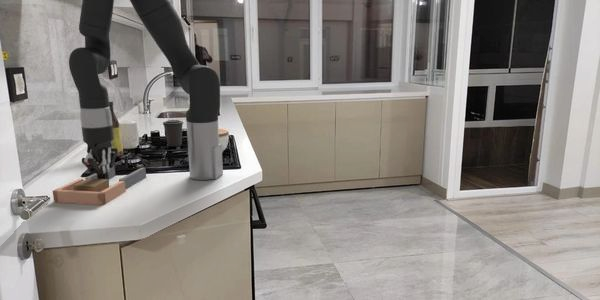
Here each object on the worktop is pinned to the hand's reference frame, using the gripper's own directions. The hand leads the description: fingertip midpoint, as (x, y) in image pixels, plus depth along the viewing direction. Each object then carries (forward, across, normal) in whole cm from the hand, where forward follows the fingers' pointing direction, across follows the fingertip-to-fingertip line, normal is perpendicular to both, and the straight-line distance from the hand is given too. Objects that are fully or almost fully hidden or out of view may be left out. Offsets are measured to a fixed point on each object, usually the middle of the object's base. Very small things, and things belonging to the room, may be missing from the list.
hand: (104, 185), depth 116 cm
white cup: (+1, +48, +21) cm, 52 cm away
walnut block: (+1, -5, 0) cm, 5 cm away
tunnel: (+1, +6, 0) cm, 6 cm away
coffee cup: (+1, +54, +5) cm, 54 cm away
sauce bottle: (+1, +34, +19) cm, 39 cm away
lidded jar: (+1, +46, -15) cm, 48 cm away
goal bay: (+1, -6, 0) cm, 6 cm away
